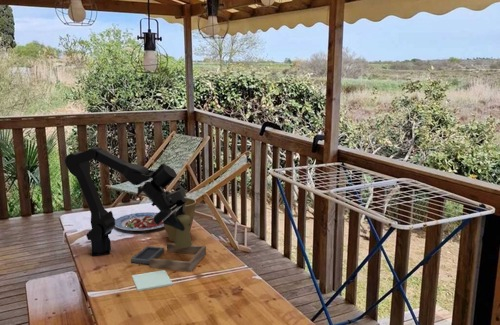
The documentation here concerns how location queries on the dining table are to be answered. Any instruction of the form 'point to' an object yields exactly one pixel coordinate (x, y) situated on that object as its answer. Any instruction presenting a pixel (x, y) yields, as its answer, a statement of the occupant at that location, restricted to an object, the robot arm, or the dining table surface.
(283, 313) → the dining table surface
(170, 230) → the plant pot
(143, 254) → the tray
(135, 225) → the ceramic plate
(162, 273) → the sage pad
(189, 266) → the frame
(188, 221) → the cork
